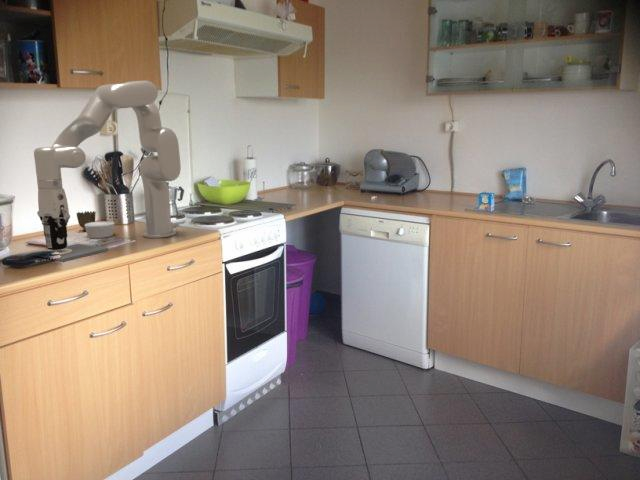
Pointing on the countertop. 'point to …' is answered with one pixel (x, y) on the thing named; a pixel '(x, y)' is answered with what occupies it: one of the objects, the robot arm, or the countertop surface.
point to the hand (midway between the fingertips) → (55, 236)
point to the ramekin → (100, 229)
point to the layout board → (78, 251)
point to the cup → (85, 218)
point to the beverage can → (53, 234)
